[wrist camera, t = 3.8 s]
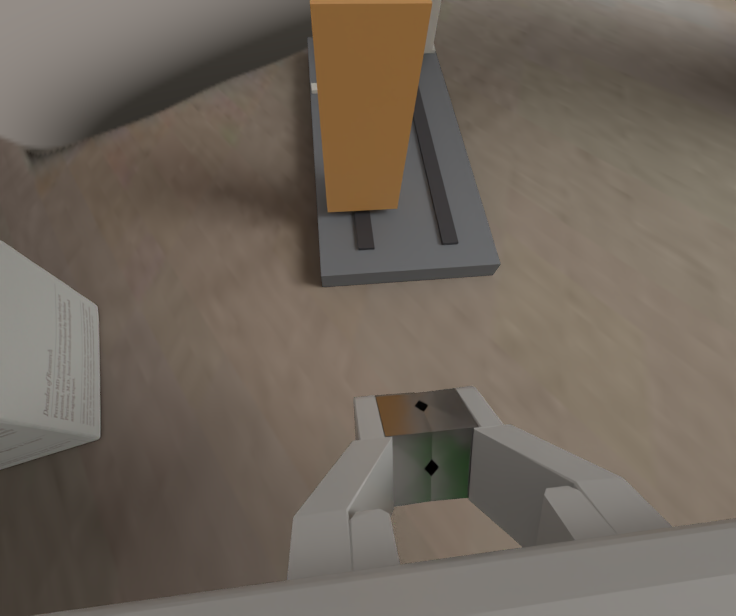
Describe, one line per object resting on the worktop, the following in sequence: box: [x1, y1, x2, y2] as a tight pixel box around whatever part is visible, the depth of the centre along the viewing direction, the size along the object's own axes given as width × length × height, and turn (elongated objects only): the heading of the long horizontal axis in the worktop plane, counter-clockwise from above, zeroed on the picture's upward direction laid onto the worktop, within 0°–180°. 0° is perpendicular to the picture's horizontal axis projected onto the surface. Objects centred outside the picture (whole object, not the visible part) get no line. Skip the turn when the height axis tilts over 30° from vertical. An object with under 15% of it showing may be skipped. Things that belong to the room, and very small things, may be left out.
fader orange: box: [310, 0, 432, 212], centre depth 17 cm, size 2×4×10 cm, turn 96°
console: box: [307, 37, 500, 287], centre depth 25 cm, size 22×10×1 cm, turn 6°
